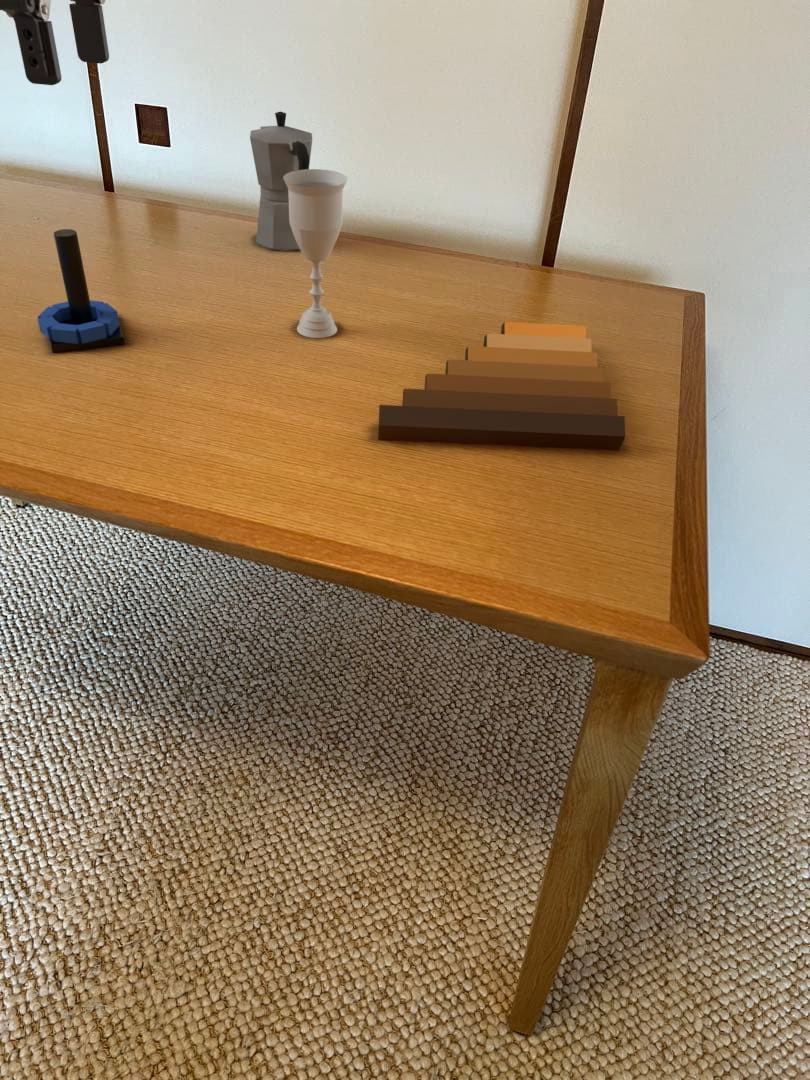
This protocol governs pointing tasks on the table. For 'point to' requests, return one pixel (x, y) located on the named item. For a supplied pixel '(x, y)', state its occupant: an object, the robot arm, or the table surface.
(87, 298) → the black peg stand
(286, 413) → the table surface
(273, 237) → the coffeepot
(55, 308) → the ring
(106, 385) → the table surface
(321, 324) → the chalice
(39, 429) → the table surface
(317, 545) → the table surface
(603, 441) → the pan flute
